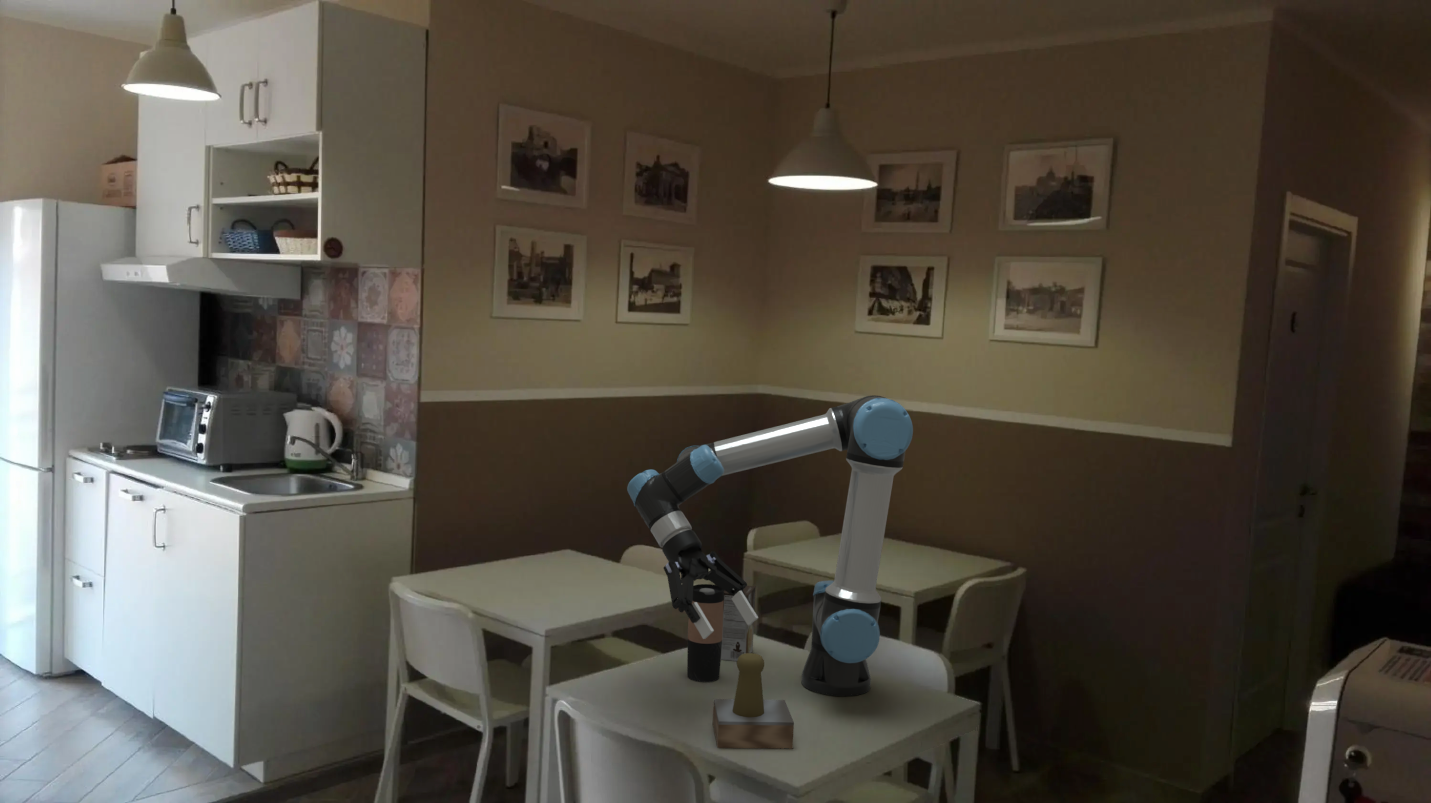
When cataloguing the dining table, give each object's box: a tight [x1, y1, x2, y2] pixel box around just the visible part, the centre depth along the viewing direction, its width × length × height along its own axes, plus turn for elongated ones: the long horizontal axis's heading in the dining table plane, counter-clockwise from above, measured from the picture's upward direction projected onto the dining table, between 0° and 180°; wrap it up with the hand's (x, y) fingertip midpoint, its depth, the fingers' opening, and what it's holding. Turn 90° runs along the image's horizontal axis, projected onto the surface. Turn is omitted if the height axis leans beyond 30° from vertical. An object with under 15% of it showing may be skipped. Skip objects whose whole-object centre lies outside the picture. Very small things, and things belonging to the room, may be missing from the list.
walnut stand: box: [712, 698, 795, 750], centre depth 207 cm, size 14×12×5 cm
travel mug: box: [686, 583, 725, 683], centre depth 239 cm, size 8×8×20 cm
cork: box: [732, 652, 765, 717], centre depth 205 cm, size 6×6×11 cm
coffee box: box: [721, 585, 756, 662], centre depth 256 cm, size 9×6×16 cm
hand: (731, 628), depth 209 cm, fingers open, 13 cm apart
